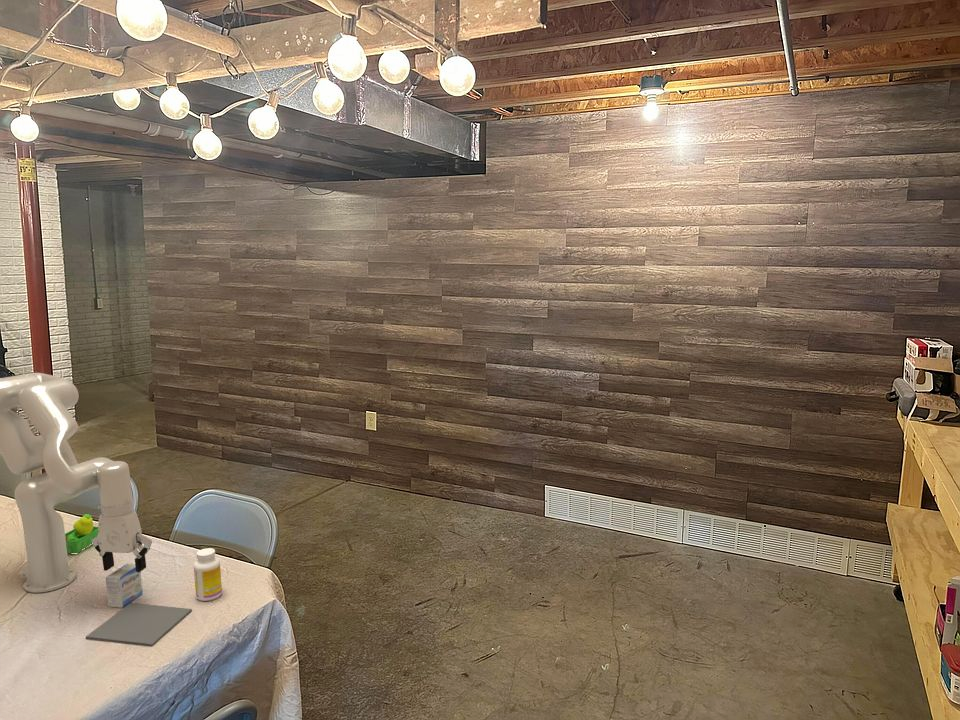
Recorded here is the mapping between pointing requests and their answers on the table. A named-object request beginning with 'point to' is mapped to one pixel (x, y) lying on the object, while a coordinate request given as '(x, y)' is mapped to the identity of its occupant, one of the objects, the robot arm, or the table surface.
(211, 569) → the supplement bottle
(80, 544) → the fruit basket
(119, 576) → the medicine box
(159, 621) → the mat
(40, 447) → the robot arm
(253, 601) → the table surface
